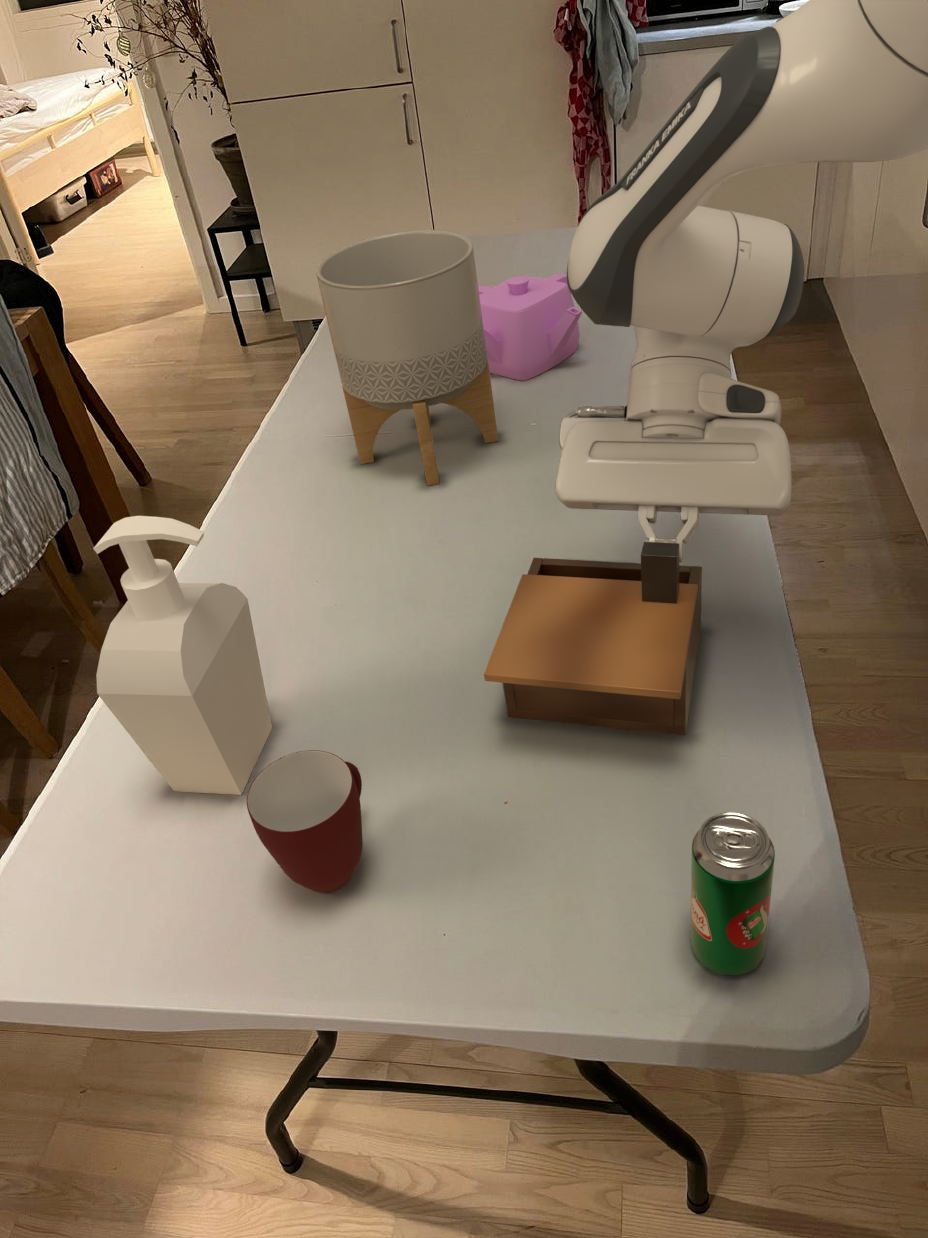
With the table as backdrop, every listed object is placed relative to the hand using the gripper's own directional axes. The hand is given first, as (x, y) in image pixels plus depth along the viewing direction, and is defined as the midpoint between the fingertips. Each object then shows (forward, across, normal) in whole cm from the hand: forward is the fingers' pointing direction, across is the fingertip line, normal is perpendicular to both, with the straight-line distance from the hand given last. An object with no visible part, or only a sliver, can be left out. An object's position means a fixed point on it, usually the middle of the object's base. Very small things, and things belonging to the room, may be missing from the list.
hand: (664, 561), depth 84 cm
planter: (-19, -36, +36) cm, 54 cm away
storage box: (+10, -5, +6) cm, 13 cm away
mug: (+28, -23, -11) cm, 38 cm away
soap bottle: (+21, -37, -5) cm, 43 cm away
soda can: (+29, +8, -12) cm, 33 cm away
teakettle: (-39, -29, +55) cm, 74 cm away
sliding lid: (+7, -5, -2) cm, 9 cm away
